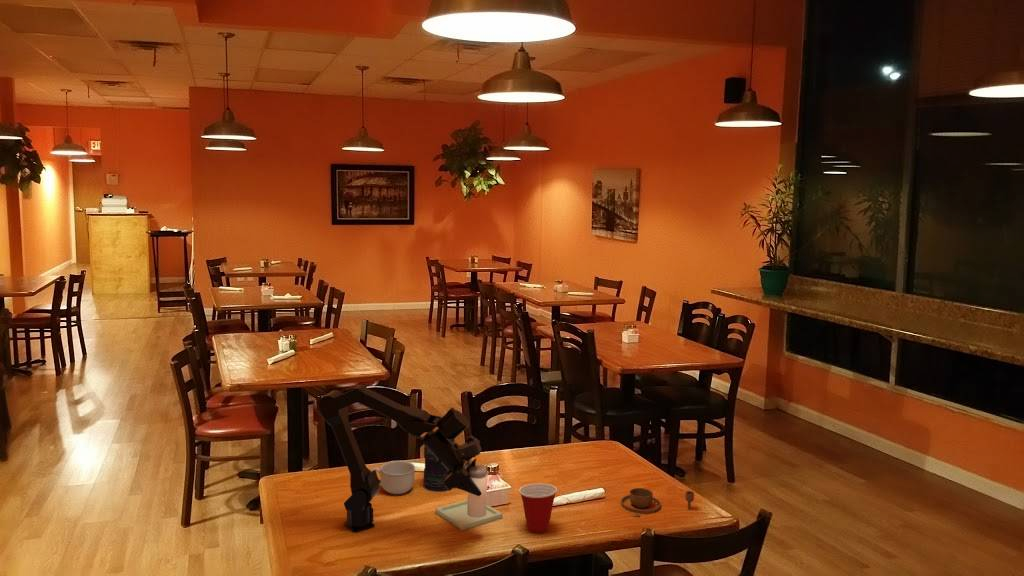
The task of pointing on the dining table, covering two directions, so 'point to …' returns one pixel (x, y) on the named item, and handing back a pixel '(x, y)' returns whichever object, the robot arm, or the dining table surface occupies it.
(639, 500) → the place setting
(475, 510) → the salt shaker
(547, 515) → the plastic cup
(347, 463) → the robot arm
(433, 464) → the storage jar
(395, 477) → the teacup
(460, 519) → the tray
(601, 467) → the dining table surface
